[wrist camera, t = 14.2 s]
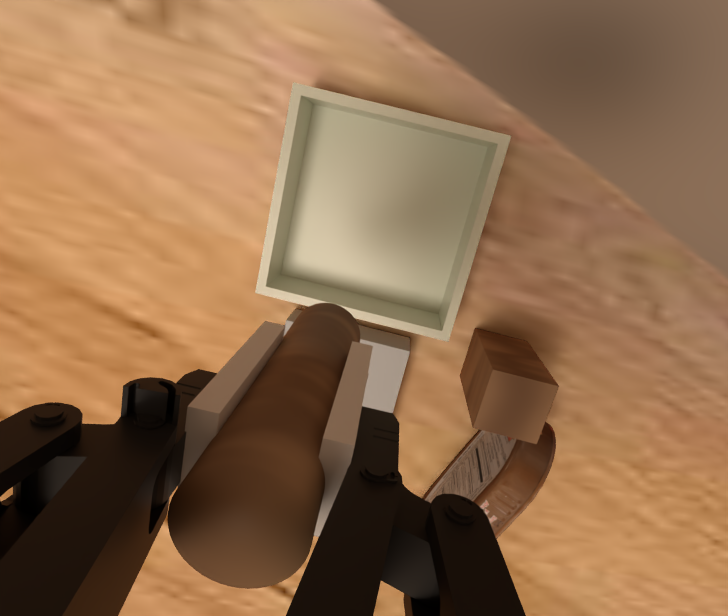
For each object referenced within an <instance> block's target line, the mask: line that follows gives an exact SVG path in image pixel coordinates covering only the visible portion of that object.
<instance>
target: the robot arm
mask: <svg viewBox="0 0 728 616" xmlns="http://www.w3.org/2000/svg"><path fill="white" fill-rule="evenodd" d="M284 331H285V325H280V324H276V323H272V322H267V321H265V322H264V323H263V324H262V325H261V326H260V327H259V328H258V329H257V330H256V332H255V333H254V334H253V335H252V336H251V337H250V338H249V339H248V340H247V341H246V343H245V344H244V345H243V346H242V347H241V348H240V349H239V350H238V351H237V352H236V354H235V355H234V356H233V357H232V358H231V359H230V360H229V361H228V362H227V364H226V365H225V366H224V367H223V368H222V369H221V370H220V371H219V372H218V373H213V372H209V371H204V370H200V369H198V370H196V371H193V372H190V373H188V374H185V375H184V376H183V377H182V378H181V379H180V380H179V381H178V382H177V383H174V382H173V381H170V380H166V379H163V378H151V377H150V378H140V379H136V380H133V381H130V382H128V383H127V384H125V385H124V386H123V396H122V409H121V417H120V418H119V419H118V421H117V422H116V423H115V424H105V425H103V424H82V413H81V411H80V410H79V409H78V408H76V407H74V406H72V405H69V404H63V403H56V402H55V403H53V402H52V403H45V404H39V405H34V406H32V407H29V408H26V409H24V410H22V411H20V412H18V413H16V414H14V415H12V416H10V417H8V418H6V419H5V420H3V421H1V422H0V496H2V495H3V494H4V493H5V492H6V491H7V490H8V489H10V488H11V487H13V495H11V496H10V497H8V498H7V499H6V500H3V501H0V616H118V615H119V612H120V610H121V608H122V606H123V604H124V602H125V600H126V598H127V596H128V594H129V592H130V590H131V588H132V586H133V584H134V582H135V579H136V577H137V575H138V573H139V571H140V569H141V567H142V565H143V563H144V561H145V559H146V557H147V555H148V553H149V551H150V549H151V546H152V544H153V542H154V540H155V538H156V536H157V534H158V532H159V530H160V528H161V526H162V524H163V522H164V520H165V518H166V515H167V511H168V505H169V497H170V495H171V494H172V493H173V491H174V490H175V488H176V487H177V486H178V487H179V486H180V484H181V483H182V481H183V480H184V479H185V477H186V476H187V474H188V473H189V471H190V470H191V469H192V467H193V466H194V464H195V463H196V461H197V460H198V459H199V457H200V456H201V454H202V453H203V451H204V450H205V449H206V447H207V446H208V444H209V443H210V442H211V440H212V439H213V438H214V437H215V436H216V435H217V434H218V432H219V431H220V429H221V428H222V426H223V425H224V424H225V422H226V421H227V419H228V418H229V416H230V415H231V414H232V412H233V411H234V409H235V408H236V406H237V405H238V404H239V402H240V401H241V399H242V398H243V396H244V395H245V394H246V392H247V391H248V389H249V388H250V386H251V385H252V383H253V382H254V381H255V379H256V378H257V376H258V375H259V373H260V372H261V371H262V369H263V368H264V366H265V365H266V363H267V362H268V361H269V359H270V358H271V356H272V355H273V353H274V352H275V351H276V349H277V348H278V346H279V345H280V343H281V342H282V341H283V337H284ZM372 348H373V346H371V345H367V344H362V343H358V342H354V341H352V344H351V347H350V351H349V354H348V357H347V361H346V364H345V367H344V370H343V374H342V377H341V380H340V383H339V387H338V390H337V393H336V397H335V400H334V403H333V406H332V410H331V413H330V416H329V420H328V423H327V426H326V429H325V433H324V436H323V440H322V444H321V449H320V454H319V459H320V461H321V463H322V467H323V470H324V475H325V489H324V494H323V499H322V503H321V507H320V511H319V515H318V520H317V524H316V528H315V532H314V536H318V537H319V538H318V541H317V543H316V545H315V548H314V550H313V553H312V555H311V557H310V560H309V562H308V564H307V567H306V569H305V571H304V574H303V576H302V579H301V581H300V583H299V586H298V588H297V590H296V593H295V595H294V598H293V600H292V602H291V605H290V607H289V609H288V612H287V614H286V616H373V613H374V609H375V604H376V600H377V595H378V591H379V586H380V582H381V581H383V582H385V583H387V584H389V585H391V586H392V587H394V588H396V589H398V590H400V591H401V592H403V593H404V608H405V616H526V615H525V613H524V610H523V607H522V605H521V602H520V600H519V597H518V594H517V592H516V589H515V586H514V584H513V581H512V579H511V576H510V573H509V571H508V568H507V566H506V563H505V560H504V558H503V555H502V553H501V550H500V547H499V545H498V542H497V540H496V537H495V534H494V532H493V529H492V527H491V524H490V521H489V519H488V517H487V515H486V514H485V512H484V510H483V509H482V508H481V507H479V506H478V505H477V504H476V503H475V502H473V501H471V500H470V499H468V498H466V497H463V496H460V495H456V494H445V493H444V494H441V495H438V496H436V497H435V498H434V499H433V500H432V502H431V503H430V502H428V501H426V500H424V499H422V498H420V497H418V496H416V495H414V494H413V493H412V492H410V491H409V490H408V489H407V488H406V487H405V486H404V485H403V484H402V476H401V474H400V473H399V471H398V454H399V422H398V421H397V419H396V418H395V416H394V414H393V413H389V412H385V411H381V410H376V409H372V408H368V407H364V406H362V403H363V398H364V392H365V387H366V381H367V376H368V370H369V365H370V359H371V354H372Z"/></svg>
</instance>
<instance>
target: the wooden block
mask: <svg viewBox="0 0 728 616" xmlns="http://www.w3.org/2000/svg"><path fill="white" fill-rule="evenodd" d="M460 378H461V382H462V386H463V390H464V394H465V398H466V402H467V406H468V410H469V414H470V418H471V422H472V426H473V428H475V429H479V430H483V431H487V432H491V433H495V434H499V435H503V436H506V437H510V438H514V439H518V440H522V441H526V442H530V443H534V444H537V442H538V439H539V437H540V434H541V432H542V429H543V426H544V424H545V421H546V419H547V416H548V413H549V411H550V408H551V406H552V403H553V400H554V398H555V395H556V393H557V390H558V387H559V386H558V384H557V383H556V381H555V380H554V379H553V377H552V376H551V374H550V373H549V371H548V370H547V369H546V367H545V366H544V364H543V363H542V362H541V360H540V359H539V357H538V356H537V354H536V353H535V352H534V350H533V349H532V347H531V346H530V344H529V343H528V342H527V341H524V340H520V339H516V338H512V337H508V336H504V335H500V334H496V333H493V332H489V331H485V330H481V329H477V328H475V330H474V333H473V336H472V339H471V343H470V346H469V349H468V352H467V355H466V358H465V361H464V365H463V368H462V371H461V374H460Z"/></svg>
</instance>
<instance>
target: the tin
mask: <svg viewBox="0 0 728 616" xmlns="http://www.w3.org/2000/svg"><path fill="white" fill-rule="evenodd" d="M555 448H556V439H555V433H554V431H553V428H552V427H551V426H550V425H549V424H548V423H546V422H545V424H544V426H543V429H542V432H541V434H540V437H539V439H538V442H537V444H534V443H530V442H526V441H522V440H518V439H514V438H510V437H506V436H503V435H499V434H495V433H491V432H487V431H483V430H479V431H478V432H477V434H476V435H475V436H474V437H473V438H472V439H471V441H470V442H469V443H468V444H467V445H466V446H465V447H464V449H463V450H462V451H461V452H460V453H459V454H458V456H457V457H456V458H455V459H454V460H453V461H452V463H451V464H450V465H449V466H448V467H447V469H446V470H445V471H444V472H443V473H442V474H441V476H440V477H439V478H438V479H437V480H436V482H435V483H434V484H433V485H432V486H431V488H430V489H429V490H428V492H427V493H426V495H425V496H424V498H423V499H424V500H426V501H428V502H430V503H431V502H432V500H433V499H434V498H435V497H436V496H438V495H441V494H444V493H445V494H456V495H460V496H463V497H466V498H468V499H470V500H471V501H473V502H475V503H476V504H477V505H478V506H479V507H481V508H482V509H483V510H484V512H485V514H486V515H487V517H488V519H489V521H490V524H491V527H492V529H493V532H494V534H495V537H496V539H497V538H498V537H499V536H500V535H501V534H502V533H503V532H504V531H505V530H506V529H507V528H508V527H509V526H510V524H511V523H512V522H513V521H514V520H515V519H516V518H517V517H518V516H519V515H520V514H521V513H522V512H523V511H524V510H525V509H526V507H527V506H528V505H529V504H530V503H531V502H532V501H533V499H534V498H535V497H536V495H537V493H538V492H539V490H540V489H541V487H542V486H543V484H544V482H545V479H546V478H547V475H548V473H549V471H550V468H551V466H552V462H553V459H554V454H555Z"/></svg>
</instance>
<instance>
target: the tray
mask: <svg viewBox="0 0 728 616" xmlns="http://www.w3.org/2000/svg"><path fill="white" fill-rule="evenodd" d="M510 139H511V135H506V134H502V133H498V132H494V131H490V130H486V129H482V128H478V127H474V126H470V125H466V124H462V123H458V122H453V121H449V120H445V119H441V118H437V117H433V116H429V115H425V114H421V113H417V112H413V111H409V110H404V109H400V108H396V107H392V106H388V105H384V104H380V103H376V102H372V101H368V100H364V99H360V98H356V97H351V96H347V95H343V94H339V93H335V92H331V91H327V90H323V89H319V88H315V87H311V86H307V85H303V84H298V83H294V82H293V85H292V91H291V96H290V102H289V108H288V113H287V119H286V124H285V130H284V136H283V141H282V147H281V152H280V158H279V163H278V169H277V175H276V180H275V186H274V191H273V197H272V202H271V208H270V214H269V219H268V225H267V230H266V236H265V241H264V247H263V253H262V258H261V264H260V269H259V275H258V281H257V286H256V292H255V293H258V294H262V295H266V296H270V297H273V298H277V299H281V300H285V301H289V302H293V303H297V304H301V305H305V306H311V305H314V304H318V303H332V304H336V305H339V306H341V307H343V308H344V309H346V310H347V311H349V312H350V313H351V314H352V316H353V317H354V318H356V319H360V320H364V321H368V322H372V323H376V324H380V325H384V326H388V327H392V328H396V329H400V330H404V331H407V332H411V333H415V334H419V335H423V336H427V337H431V338H435V339H439V340H443V341H447V342H449V338H450V335H451V332H452V329H453V325H454V322H455V319H456V315H457V312H458V309H459V306H460V302H461V299H462V296H463V293H464V289H465V286H466V283H467V280H468V276H469V273H470V270H471V266H472V263H473V260H474V257H475V253H476V250H477V247H478V244H479V240H480V237H481V234H482V230H483V227H484V224H485V221H486V217H487V214H488V211H489V208H490V204H491V201H492V198H493V194H494V191H495V188H496V185H497V181H498V178H499V175H500V172H501V168H502V165H503V162H504V158H505V155H506V152H507V149H508V145H509V142H510Z"/></svg>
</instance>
